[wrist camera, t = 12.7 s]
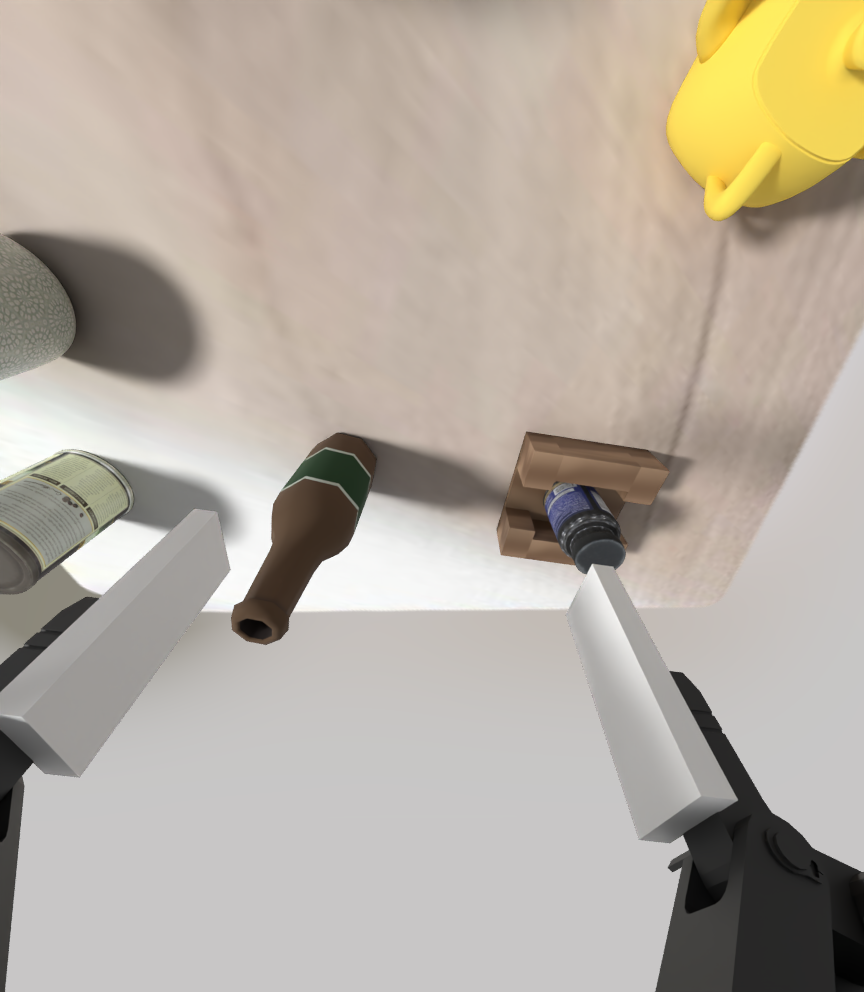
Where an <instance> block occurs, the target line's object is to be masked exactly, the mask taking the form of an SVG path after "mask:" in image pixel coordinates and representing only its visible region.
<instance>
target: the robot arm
mask: <svg viewBox="0 0 864 992" xmlns="http://www.w3.org/2000/svg"><path fill="white" fill-rule="evenodd" d="M229 571H230V565H229V561H228V557H227V552H226V548H225V543H224V539H223V534H222V530H221V525H220V521H219V517H218V512H216V511H209V510H202V509H194V510H192V511H191V512H190V513H189V514H188V515H187V516H186V517H185V518H184V519H183V520H182V521H181V522H180V523H179V524H178V525H177V526H176V527H174V528H173V529H172V530H171V531H170V532H169V533H168V534H167V535H166V536H165V537H164V538H163V539H162V540H161V541H160V542H159V543H158V544H157V545H155V546H154V547H153V548H152V549H151V550H150V551H149V552H148V553H147V554H146V555H145V556H144V557H143V558H142V559H141V560H140V561H139V562H137V563H136V564H135V565H134V566H133V567H132V568H131V569H130V570H129V571H128V572H127V573H126V574H125V575H124V576H123V577H122V578H121V579H119V580H118V581H117V582H116V583H115V584H114V585H113V586H112V587H111V588H110V589H109V590H108V591H107V592H106V593H105V594H104V595H103V596H101V597H100V598H92V597H85V598H83V599H82V600H80V601H78V602H76V603H74V604H73V605H71V606H69V607H67V608H66V609H64V610H62V611H61V612H60V613H59V614H57V615H56V616H55V617H54V618H53V619H52V620H51V621H50V622H48V623H47V624H46V625H45V626H44V627H43V628H42V629H41V632H39V633H36V634H35V635H34V636H33V637H32V638H30V639H29V640H28V641H27V642H26V643H25V644H24V647H23V648H19V649H18V650H17V651H16V652H14V653H13V654H12V655H11V656H10V657H9V658H8V659H7V660H5V661H4V662H3V663H2V664H1V665H0V992H5V983H6V973H7V962H8V951H9V942H10V931H11V921H12V910H13V900H14V889H15V879H16V868H17V858H18V848H19V837H20V826H21V815H22V806H23V795H24V782H23V778H22V775H23V774H24V773H25V772H26V770H27V769H28V768H29V767H30V766H31V764H32V763H34V764H35V765H36V766H37V767H38V768H39V769H40V770H42V771H43V772H44V773H45V774H53V775H62V776H70V777H80V776H81V775H82V773H83V772H84V771H85V769H86V768H87V767H88V765H89V764H90V762H91V761H92V760H93V758H94V757H95V756H96V754H97V753H98V751H99V750H100V749H101V747H102V746H103V745H104V743H105V742H106V740H107V739H108V738H109V736H110V735H111V733H112V732H113V731H114V729H115V728H116V727H117V725H118V724H119V723H120V721H121V719H122V718H123V717H124V716H125V714H126V713H127V712H128V710H129V709H130V707H131V706H132V705H133V703H134V702H135V701H136V699H137V698H138V696H139V695H140V694H141V692H142V691H143V689H144V688H145V687H146V685H147V684H148V683H149V681H150V680H151V679H152V677H153V676H154V674H155V673H156V672H157V670H158V669H159V668H160V666H161V665H162V663H163V662H164V661H165V659H166V658H167V657H168V655H169V654H170V652H171V651H172V650H173V648H174V647H175V646H176V644H177V643H178V641H179V640H180V639H181V637H182V636H183V635H184V633H185V632H186V630H187V629H188V627H189V626H190V625H191V624H192V622H193V621H194V619H195V618H196V617H197V615H198V614H199V613H200V611H201V610H202V608H203V607H204V606H205V604H206V603H207V602H208V600H209V599H210V597H211V596H212V595H213V593H214V592H215V591H216V589H217V588H218V586H219V585H220V584H221V582H222V581H223V580H224V578H225V577H226V575H227V574H228V573H229ZM566 617H567V620H568V623H569V626H570V629H571V632H572V635H573V638H574V641H575V645H576V647H577V651H578V654H579V657H580V660H581V663H582V666H583V669H584V672H585V675H586V678H587V681H588V684H589V688H590V691H591V693H592V697H593V699H594V703H595V706H596V709H597V711H598V715H599V718H600V721H601V724H602V727H603V730H604V734H605V736H606V740H607V743H608V746H609V749H610V752H611V755H612V758H613V761H614V764H615V767H616V770H617V773H618V777H619V780H620V782H621V786H622V789H623V792H624V795H625V798H626V801H627V804H628V807H629V810H630V813H631V816H632V819H633V823H634V826H635V829H636V832H637V835H638V838H639V840H645V841H654V842H664V843H671V842H673V841H674V840H676V839H677V838H679V837H681V836H682V835H683V836H684V838H685V841H686V843H687V845H688V848H689V850H688V851H687V852H685V853H683V854H681V855H680V856H678V857H677V858H675V859H673V860H672V861H671V863H670V865H669V866H668V868H669V869H670V870H671V871H672V872H674V871H676V870H678V869H679V868H681V867H682V870H681V874H680V879H679V884H678V888H677V893H676V898H675V902H674V907H673V912H672V916H671V921H670V926H669V931H668V935H667V940H666V945H665V949H664V954H663V959H662V964H661V968H660V973H659V978H658V982H657V987H656V992H864V872H861V871H859V870H857V869H854V868H852V867H850V866H848V865H846V864H844V863H842V862H840V861H838V860H836V859H833V858H832V857H829V856H827V855H825V854H823V853H821V852H819V851H817V850H815V849H813V848H812V847H811V846H810V844H809V843H808V842H807V841H806V840H805V838H804V837H803V836H802V835H801V834H800V833H799V832H798V831H797V830H796V829H794V828H793V827H792V826H791V825H790V824H789V823H788V822H786V821H785V820H783V819H781V818H780V817H778V816H776V815H775V814H773V813H772V812H771V811H770V810H769V808H768V806H767V805H766V803H765V802H764V800H763V799H762V797H761V796H760V794H759V792H758V790H757V789H756V787H755V785H754V783H753V782H752V780H751V778H750V777H749V775H748V773H747V771H746V770H745V768H744V766H743V764H742V763H741V761H740V759H739V758H738V756H737V754H736V752H735V751H734V749H733V747H732V746H731V744H730V742H729V740H728V739H727V737H726V735H725V734H723V733H722V728H721V727H720V725H719V723H718V722H717V720H716V718H715V717H714V716H712V711H711V709H710V708H709V706H708V704H707V703H706V701H705V699H704V698H703V696H702V694H701V692H700V691H699V690H698V689H697V688H696V687H695V686H694V684H693V683H692V682H691V681H690V680H689V679H688V678H687V677H686V676H685V675H684V674H683V673H681V672H673V671H669V670H668V668H667V666H666V665H665V663H664V661H663V659H662V657H661V655H660V653H659V651H658V650H657V648H656V646H655V644H654V642H653V640H652V639H651V637H650V635H649V633H648V631H647V629H646V627H645V625H644V623H643V621H642V620H641V618H640V616H639V614H638V612H637V610H636V608H635V607H634V605H633V603H632V601H631V599H630V597H629V595H628V593H627V592H626V590H625V588H624V586H623V584H622V582H621V580H620V578H619V577H618V575H617V573H616V571H615V569H614V567H612V566H605V565H597V564H592V565H591V567H590V569H589V571H588V573H587V575H586V577H585V579H584V581H583V582H582V584H581V586H580V588H579V590H578V592H577V594H576V596H575V598H574V600H573V602H572V604H571V606H570V608H569V609H568V611H567V613H566Z"/></svg>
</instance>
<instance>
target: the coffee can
mask: <svg viewBox="0 0 864 992" xmlns="http://www.w3.org/2000/svg"><path fill="white" fill-rule="evenodd" d="M133 502H134V497H133V492H132V489H131V487H130V485H129V484H128V482H127V481H126V479H125V478H124V476H123V475H121V474H120V473H119V471H118V470H117V469H115V468H114V467H113V466H112V465H110V464H109V463H107V462H106V461H104V460H102V459H101V458H99V457H97V456H95V455H92V454H89V453H86V452H83V451H79V450H62V451H59V452H57V453H55V454H54V455H52V456H51V457H48V458H46V459H44V460H42V461H40V462H38V463H36V464H34V465H32V466H30V467H28V468H25V469H23V470H21V471H19V472H17V473H15V474H13V475H11V476H9V477H7V478H5V479H3V480H0V594H19V593H23V592H25V591H27V590H28V589H30V588H31V587H32V586H33V585H35V584H36V582H37V581H38V580H39V579H41V578H42V577H43V576H44V575H46V574H47V573H49V572H50V571H51V570H52V569H54V568H55V567H56V566H57V565H59V564H60V563H62V562H63V561H64V560H65V559H67V558H68V557H69V556H71V555H72V554H73V553H75V552H76V551H77V550H78V549H80V548H81V547H82V546H84V545H85V544H86V543H87V542H89V541H90V540H91V539H93V538H94V537H95V536H97V535H98V534H99V533H101V532H102V531H103V530H105V529H106V528H107V527H108V526H110V525H111V524H112V523H114V522H115V521H116V520H118V519H119V518H120V517H122V516H123V515H125V514H126V513H128V512H129V511H130V509H131V508H132V506H133Z"/></svg>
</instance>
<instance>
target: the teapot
mask: <svg viewBox="0 0 864 992" xmlns="http://www.w3.org/2000/svg"><path fill="white" fill-rule="evenodd" d="M696 48H697V54H698V56H697V58H696V59H695V61H694V63H693V65H692V67H691V68H690V70H689V72H688V74H687V76H686V78H685V79H684V81H683V83H682V85H681V87H680V89H679V91H678V93H677V95H676V97H675V99H674V101H673V103H672V106H671V109H670V112H669V115H668V118H667V124H666V136H667V140H668V143H669V145H670V147H671V149H672V151H673V153H674V155H675V156H676V157H677V159H678V160H679V162H680V163H681V165H682V166H683V167H684V169H685V170H686V171H687V173H688V174H689V175H690V176H691V177H692V178H693V179H694V180H695V181H696V182H697V183H698V184H699V185H700V186H701V187H703V188H704V189H705V195H704V209H705V212H706V214H707V216H708V217H709V218H711V219H712V220H715V221H722V220H725V219H727V218H728V217H730V216H731V215H733V214H734V213H735V212H736V211H738V210H739V209H740V208H741V207H742V206H746V207H764V206H768V205H772V204H775V203H778V202H781V201H784V200H786V199H788V198H791V197H793V196H795V195H797V194H799V193H801V192H803V191H805V190H806V189H808V188H810V187H812V186H813V185H815V184H817V183H818V182H820V181H821V180H823V179H824V178H826V177H827V176H828V175H830V174H831V173H833V172H834V171H836V170H837V169H839V168H840V167H841V166H842V165H844V164H845V163H846V162H847V161H849V160H850V159H851V158H858V159H864V0H707V2H706V4H705V7H704V9H703V11H702V14H701V17H700V19H699V23H698V28H697V33H696Z"/></svg>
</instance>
